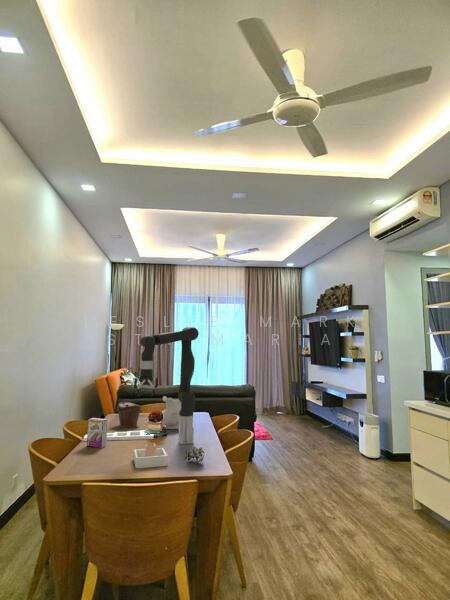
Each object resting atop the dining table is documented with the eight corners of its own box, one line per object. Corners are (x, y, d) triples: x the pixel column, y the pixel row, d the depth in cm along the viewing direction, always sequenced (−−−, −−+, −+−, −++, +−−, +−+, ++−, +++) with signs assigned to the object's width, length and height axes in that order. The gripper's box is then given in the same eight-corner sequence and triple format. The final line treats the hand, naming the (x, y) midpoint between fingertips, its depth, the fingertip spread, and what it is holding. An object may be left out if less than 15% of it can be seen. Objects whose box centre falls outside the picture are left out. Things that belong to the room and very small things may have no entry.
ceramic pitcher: (175, 425, 297) (174, 393, 301) (193, 426, 286) (192, 393, 290) (155, 430, 279) (155, 396, 284) (174, 431, 268) (173, 396, 273)
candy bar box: (86, 446, 226) (87, 419, 228) (91, 444, 230) (93, 417, 232) (101, 448, 222) (102, 420, 224) (106, 446, 227) (107, 419, 229)
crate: (162, 457, 206) (163, 447, 207) (167, 465, 191) (167, 455, 192) (133, 459, 201) (133, 449, 202) (135, 468, 186) (136, 458, 187)
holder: (83, 441, 238) (83, 437, 239) (88, 435, 256) (88, 431, 256) (153, 439, 247) (153, 435, 247) (153, 433, 264) (153, 429, 264)
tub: (154, 458, 199) (154, 443, 200) (155, 461, 195) (155, 445, 196) (144, 459, 198) (145, 444, 199) (145, 462, 193) (146, 446, 194)
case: (138, 428, 279) (139, 403, 281) (112, 427, 279) (113, 403, 282) (144, 423, 296) (145, 401, 299) (119, 423, 297) (120, 400, 299)
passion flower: (200, 475, 193) (203, 460, 187) (180, 471, 193) (182, 456, 187) (204, 457, 202) (207, 443, 197) (185, 453, 203) (187, 438, 197)
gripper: (135, 368, 221) (134, 396, 219) (159, 368, 225) (158, 395, 223) (134, 367, 228) (133, 394, 226) (157, 367, 232) (156, 394, 230)
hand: (145, 395), depth 224 cm, fingers open, 8 cm apart
